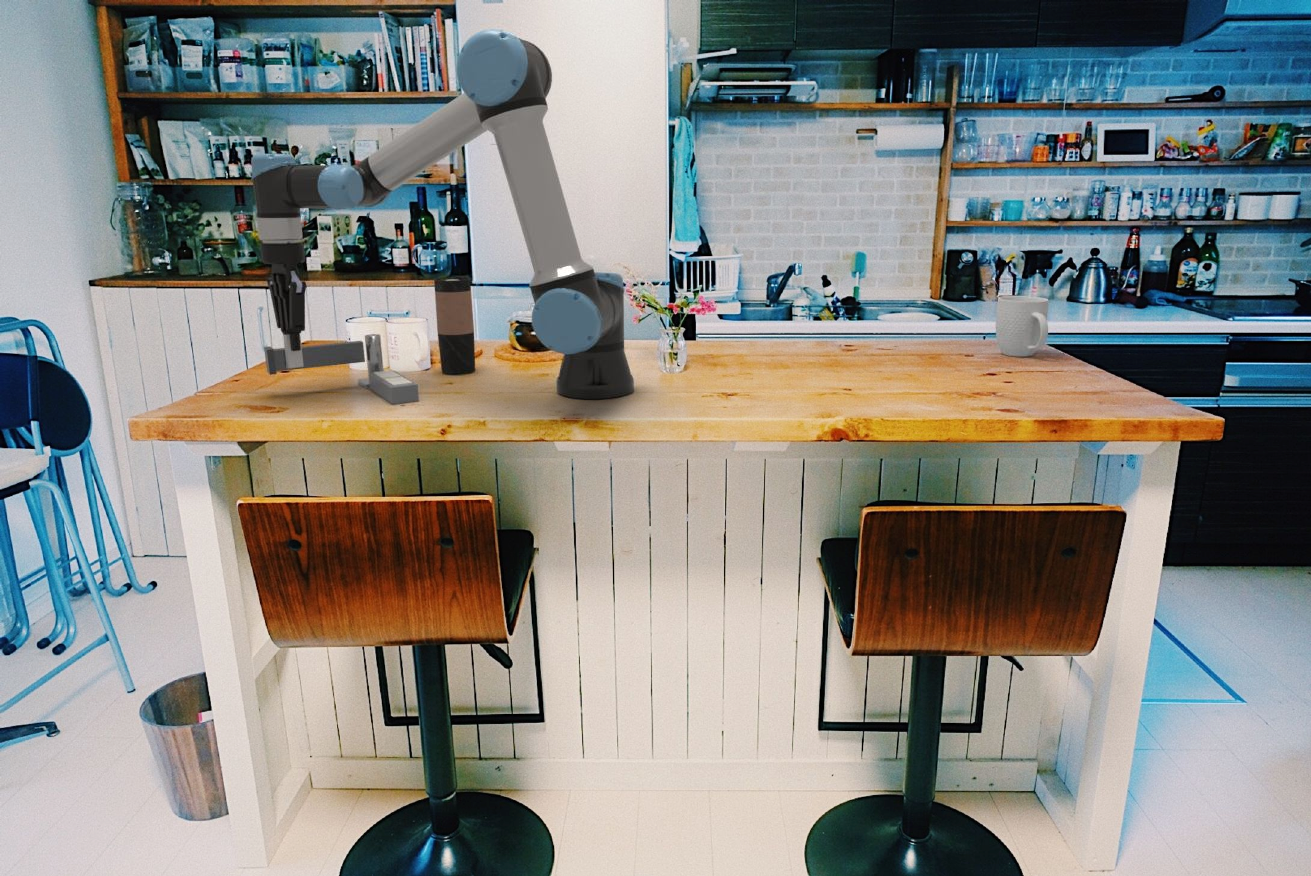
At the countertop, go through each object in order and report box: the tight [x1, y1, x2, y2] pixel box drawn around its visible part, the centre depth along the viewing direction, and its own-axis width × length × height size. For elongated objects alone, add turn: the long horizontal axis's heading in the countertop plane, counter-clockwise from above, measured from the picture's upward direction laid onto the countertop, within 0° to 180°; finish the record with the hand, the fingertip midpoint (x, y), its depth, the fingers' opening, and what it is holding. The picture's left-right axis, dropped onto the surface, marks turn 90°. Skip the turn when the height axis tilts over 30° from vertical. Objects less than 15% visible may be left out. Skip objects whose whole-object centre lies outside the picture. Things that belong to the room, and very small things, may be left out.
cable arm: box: [263, 340, 366, 375], centre depth 174 cm, size 18×3×5 cm, turn 122°
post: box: [357, 333, 385, 389], centre depth 180 cm, size 6×6×10 cm
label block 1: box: [368, 369, 405, 398], centre depth 175 cm, size 8×5×4 cm, turn 32°
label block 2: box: [380, 376, 420, 405], centre depth 169 cm, size 8×5×4 cm, turn 32°
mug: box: [995, 295, 1050, 358], centre depth 205 cm, size 15×11×13 cm
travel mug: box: [433, 276, 476, 376], centre depth 190 cm, size 8×8×20 cm
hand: (295, 366), depth 171 cm, fingers closed
